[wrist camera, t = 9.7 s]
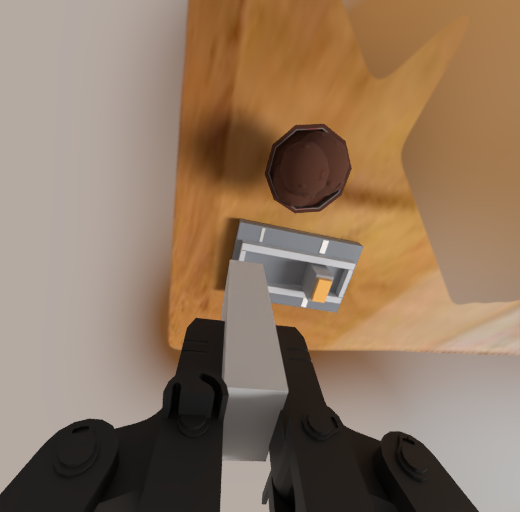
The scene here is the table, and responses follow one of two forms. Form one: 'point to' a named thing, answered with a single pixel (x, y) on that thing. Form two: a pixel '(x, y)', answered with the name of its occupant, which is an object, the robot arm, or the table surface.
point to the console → (296, 261)
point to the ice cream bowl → (308, 168)
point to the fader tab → (316, 282)
